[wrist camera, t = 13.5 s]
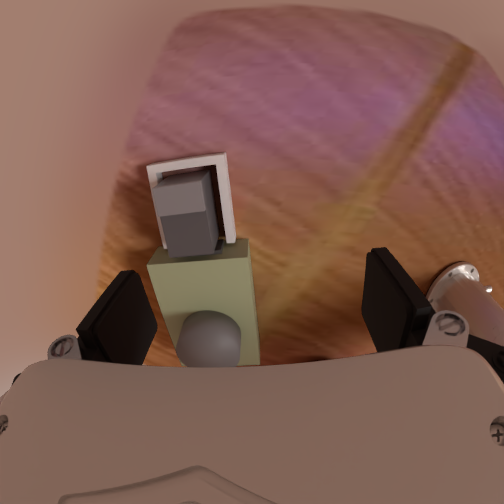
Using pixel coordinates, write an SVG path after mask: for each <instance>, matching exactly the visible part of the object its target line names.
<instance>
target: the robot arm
mask: <svg viewBox="0 0 504 504" xmlns="http://www.w3.org/2000/svg"><path fill="white" fill-rule="evenodd" d="M491 291H492V287H491V285H488V286H485V287H484V286H483V285H482V284H481V283H480V282H479V274H478V271H477V269H476V268H475V267H474V266H473V265H472V264H470V263H468V262H458V263H456V264H453V265H452V266H450V267H448V268H447V269H446V270H444V271H443V272H442V273H441V274H440V275H439V276H438V277H437V278H436V280H435V281H434V282H433V284H432V285H431V287H430V289H429V291H428V293H427V295H426V297H425V296H424V294H423V293H422V292H421V290H420V289H419V288H418V286H417V285H416V284H415V282H414V281H413V280H412V279H411V277H410V276H409V275H408V274H407V272H406V271H405V270H404V269H403V267H402V266H401V265H400V264H399V262H398V261H397V260H396V259H395V258H394V256H393V255H392V254H391V253H390V252H389V250H388V249H387V248H386V247H382V248H372V249H371V252H368V253H367V257H366V270H365V281H364V291H363V300H362V316H363V318H364V321H365V323H366V325H367V328H368V330H369V332H370V335H371V337H372V340H373V342H374V345H375V347H376V350H377V352H376V353H371V354H365V355H359V356H352V357H345V358H338V359H331V360H323V361H314V362H304V363H294V364H282V365H268V366H250V367H214V368H199V367H163V366H145V365H142V364H143V361H144V359H145V357H146V354H147V352H148V350H149V347H150V345H151V343H152V340H153V338H154V336H155V334H156V331H157V322H156V319H155V317H154V314H153V312H152V309H151V306H150V304H149V301H148V298H147V295H146V293H145V290H144V287H143V284H142V281H141V278H140V276H139V274H138V273H136V272H135V271H134V270H127V271H121V272H120V273H119V274H118V275H117V276H116V277H115V279H114V280H113V281H112V282H111V284H110V285H109V286H108V287H107V289H106V290H105V291H104V292H103V294H102V295H101V296H100V298H99V299H98V300H97V301H96V303H95V304H94V305H93V307H92V308H91V309H90V311H89V312H88V314H87V315H86V316H85V318H84V319H83V320H82V322H81V323H80V324H79V326H78V327H77V328H76V331H77V333H78V334H79V337H78V338H76V337H75V336H73V335H65V336H61V337H60V338H58V339H56V340H55V341H54V342H53V343H52V344H51V345H50V347H49V349H48V360H44V361H40V362H37V363H34V364H32V365H30V366H28V367H27V368H26V369H25V370H24V371H23V372H22V373H20V374H18V375H17V376H16V377H15V378H14V381H13V383H12V386H11V388H10V389H9V390H8V391H7V392H6V393H5V394H4V395H3V396H1V397H0V504H504V310H503V309H502V307H501V306H500V305H499V304H498V303H497V302H496V301H495V300H494V299H493V298H492V296H491V295H490V294H489V293H490V292H491Z"/></svg>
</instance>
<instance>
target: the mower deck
mask: <svg viewBox="0 0 504 504" xmlns="http://www.w3.org/2000/svg"><path fill="white" fill-rule="evenodd" d="M214 164H216V168H217V176H218V184H219V191H220V199H221V206H222V213H223V220H224V228H225V235H226V240H225V241H224V239H221V240H217V243H216V247H215V251H214V254H206V255H194V256H183V257H171V258H170V257H169V253H168V249H167V245H166V241H165V237H164V233H163V229H162V224H161V220H160V217H158V216H157V212H156V207H155V202H154V198H153V193H152V188H153V187H155V186H156V185H157V184H159V183H160V182H161V181H163V177H162V172H166V171H172V170H178V169H185V168H192V167H199V166H206V165H214ZM147 172H148V178H149V183H150V188H151V193H152V198H153V203H154V208H155V213H156V217H157V222H158V226H159V230H160V235H161V239H162V243H163V246H159V247H158V248H157V250H156V251H155V253H154V254H153V256H152V257H151V259H150V260H149V262H148V263H147V269H148V272H149V275H150V279H151V282H152V285H153V288H154V291H155V294H156V297H157V300H158V303H159V306H160V309H161V312H162V315H163V318H164V321H165V324H166V326H167V329H168V332H169V334H170V337H171V340H172V342H173V345H174V348H175V350H176V353H177V356H178V358H179V360H180V363H181V365H182V366H187V367H199V368H214V367H236V366H244V365H260V339H259V330H258V321H257V312H256V303H255V294H254V285H253V276H252V267H251V257H250V248H249V239H237V240H236V231H235V223H234V215H233V207H232V199H231V191H230V183H229V175H228V166H227V158H226V152H223V153H215V154H207V155H200V156H193V157H186V158H180V159H174V160H168V161H162V162H157V163H152V164H150V165H148V166H147Z"/></svg>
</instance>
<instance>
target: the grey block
mask: <svg viewBox="0 0 504 504" xmlns="http://www.w3.org/2000/svg"><path fill="white" fill-rule="evenodd" d="M152 193H153V198H154V202H155V207H156V212H157V216H158V217H160V220H161V224H162V229H163V233H164V237H165V241H166V245H167V249H168V253H169V257H170V258H171V257H183V256H194V255H206V254H214V251H215V247H216V243H217V240H218V236H219V233H220V231H219V224H218V218H217V211H216V205H215V198H214V191H213V184H212V177H211V170H210V169H209V170H202V171H194V172H188V173H181V174H175V175H170V176H168V177H167V178H165V179H164V180H163V181H161V182H160V183H159V184H157V185H156V186H155V187H153V188H152Z"/></svg>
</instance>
